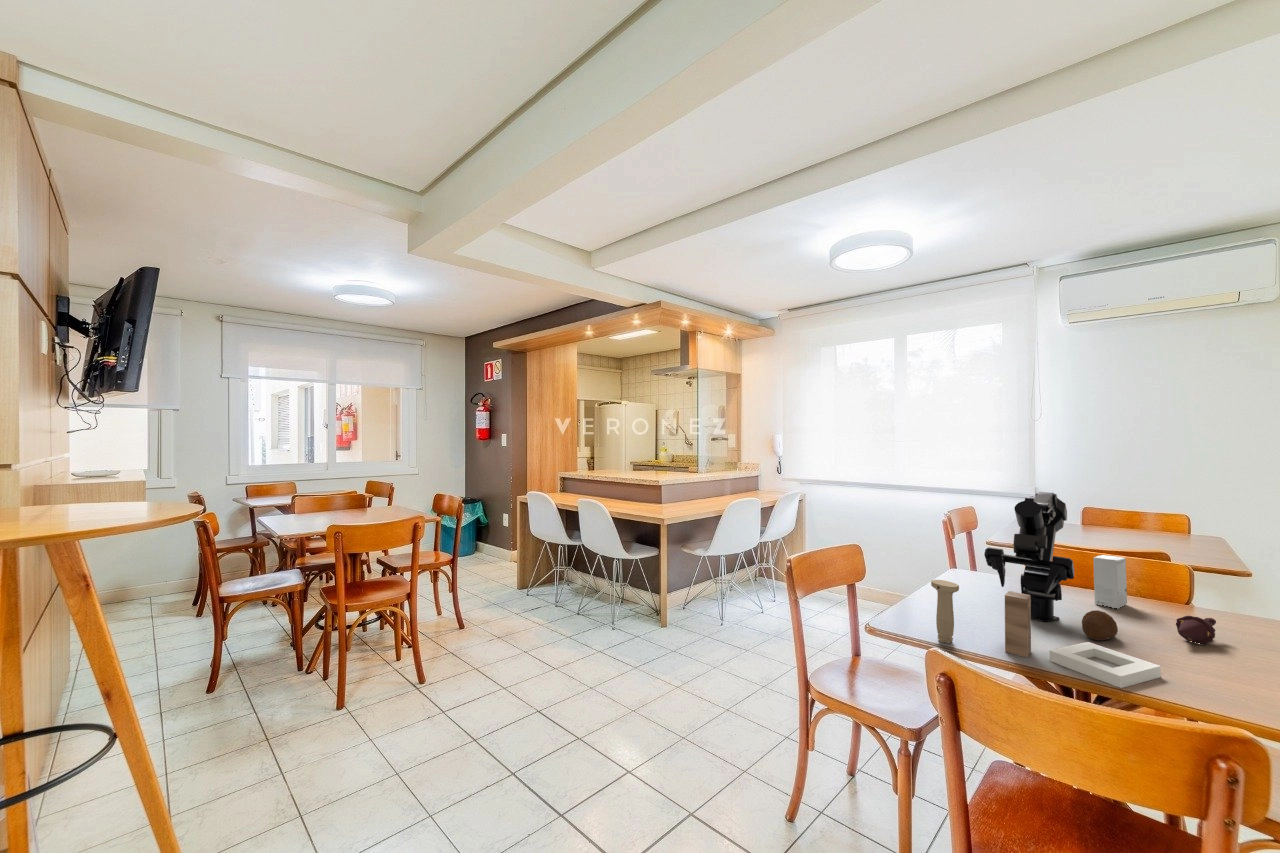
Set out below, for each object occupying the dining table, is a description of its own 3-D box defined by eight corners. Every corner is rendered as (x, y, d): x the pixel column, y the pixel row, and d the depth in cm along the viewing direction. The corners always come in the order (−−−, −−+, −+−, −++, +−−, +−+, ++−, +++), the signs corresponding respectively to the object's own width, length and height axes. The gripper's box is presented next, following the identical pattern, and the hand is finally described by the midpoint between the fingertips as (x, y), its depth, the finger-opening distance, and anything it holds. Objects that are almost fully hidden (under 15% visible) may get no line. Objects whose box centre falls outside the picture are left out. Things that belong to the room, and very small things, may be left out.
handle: (940, 635, 140) (940, 578, 140) (963, 644, 134) (963, 585, 134) (927, 638, 138) (927, 581, 138) (950, 647, 132) (949, 587, 132)
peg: (1009, 646, 132) (1008, 591, 132) (1031, 652, 129) (1030, 595, 129) (1005, 652, 129) (1004, 595, 129) (1027, 657, 126) (1027, 599, 126)
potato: (1074, 637, 138) (1074, 611, 138) (1088, 629, 144) (1088, 603, 144) (1109, 646, 132) (1109, 619, 132) (1122, 637, 138) (1122, 610, 138)
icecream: (1203, 627, 128) (1235, 624, 133) (1165, 610, 135) (1197, 608, 140) (1193, 653, 129) (1224, 648, 135) (1156, 634, 136) (1187, 631, 141)
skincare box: (1118, 610, 159) (1117, 560, 159) (1092, 604, 164) (1092, 556, 164) (1127, 605, 163) (1127, 557, 163) (1102, 599, 168) (1102, 553, 168)
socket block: (1088, 652, 129) (1088, 641, 129) (1160, 677, 116) (1160, 665, 116) (1049, 660, 124) (1049, 650, 124) (1120, 688, 111) (1120, 676, 111)
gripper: (985, 517, 145) (975, 565, 138) (1072, 526, 132) (1067, 579, 124) (992, 542, 151) (983, 588, 143) (1076, 552, 138) (1071, 605, 130)
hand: (1023, 589), depth 135 cm, fingers open, 9 cm apart
